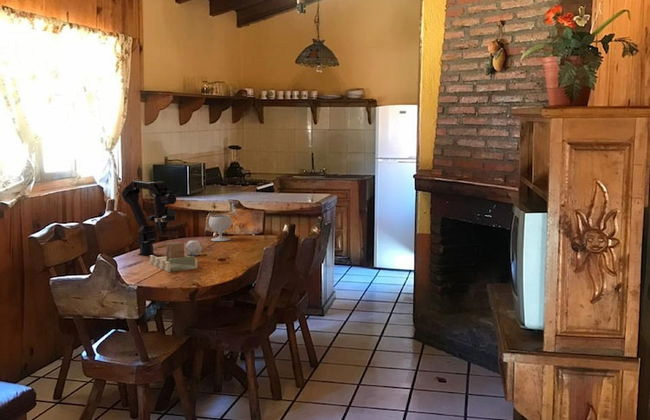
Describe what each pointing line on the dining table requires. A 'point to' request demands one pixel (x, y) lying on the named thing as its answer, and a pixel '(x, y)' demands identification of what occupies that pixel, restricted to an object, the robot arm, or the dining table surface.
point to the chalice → (220, 225)
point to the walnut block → (174, 250)
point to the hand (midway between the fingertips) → (163, 234)
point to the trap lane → (174, 263)
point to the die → (193, 248)
